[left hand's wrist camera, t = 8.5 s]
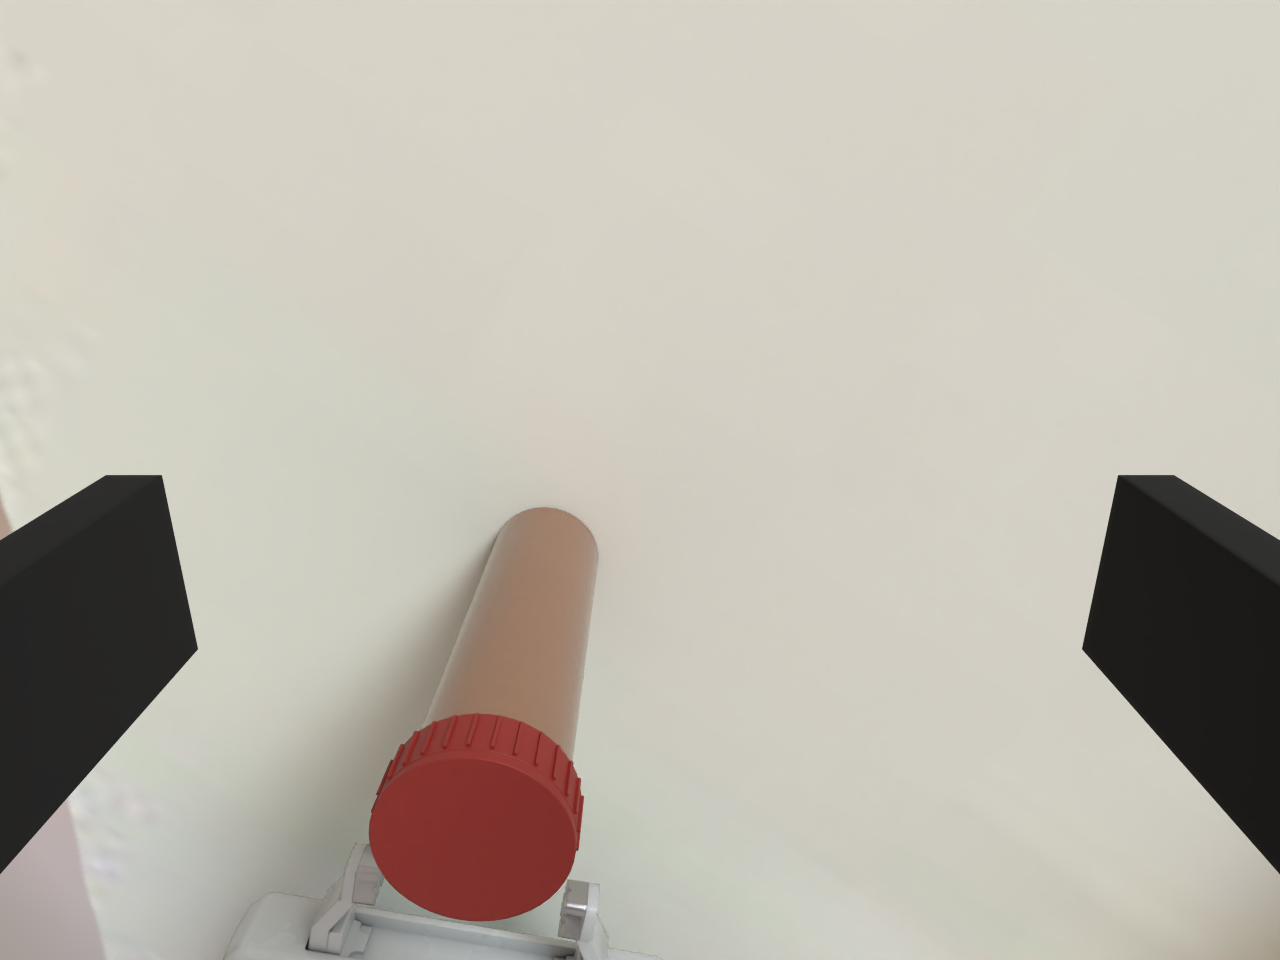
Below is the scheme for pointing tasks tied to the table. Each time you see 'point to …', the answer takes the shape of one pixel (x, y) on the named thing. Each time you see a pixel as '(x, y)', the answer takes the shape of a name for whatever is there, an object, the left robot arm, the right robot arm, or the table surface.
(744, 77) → the table surface
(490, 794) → the lid
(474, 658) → the jar
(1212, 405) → the table surface
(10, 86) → the table surface
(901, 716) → the table surface
